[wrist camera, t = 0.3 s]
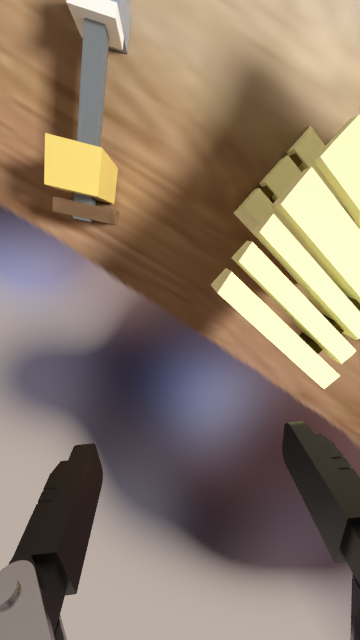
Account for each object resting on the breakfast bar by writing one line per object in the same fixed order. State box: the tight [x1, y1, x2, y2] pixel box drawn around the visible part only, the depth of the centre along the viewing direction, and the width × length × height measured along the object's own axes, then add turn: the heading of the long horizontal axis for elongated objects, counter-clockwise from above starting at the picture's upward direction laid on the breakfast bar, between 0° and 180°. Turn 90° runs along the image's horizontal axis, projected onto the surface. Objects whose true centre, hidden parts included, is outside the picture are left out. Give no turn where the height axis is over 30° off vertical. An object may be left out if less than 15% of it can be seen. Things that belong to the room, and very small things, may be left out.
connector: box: [109, 0, 131, 54], centre depth 23 cm, size 3×4×6 cm
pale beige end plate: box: [66, 0, 124, 50], centre depth 22 cm, size 1×4×4 cm, turn 78°
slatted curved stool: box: [211, 115, 360, 389], centre depth 25 cm, size 30×16×18 cm, turn 138°
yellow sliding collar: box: [44, 133, 118, 204], centre depth 26 cm, size 4×5×8 cm
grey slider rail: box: [73, 18, 109, 222], centre depth 24 cm, size 20×2×2 cm, turn 168°
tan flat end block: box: [53, 196, 119, 224], centre depth 29 cm, size 2×6×6 cm, turn 78°
